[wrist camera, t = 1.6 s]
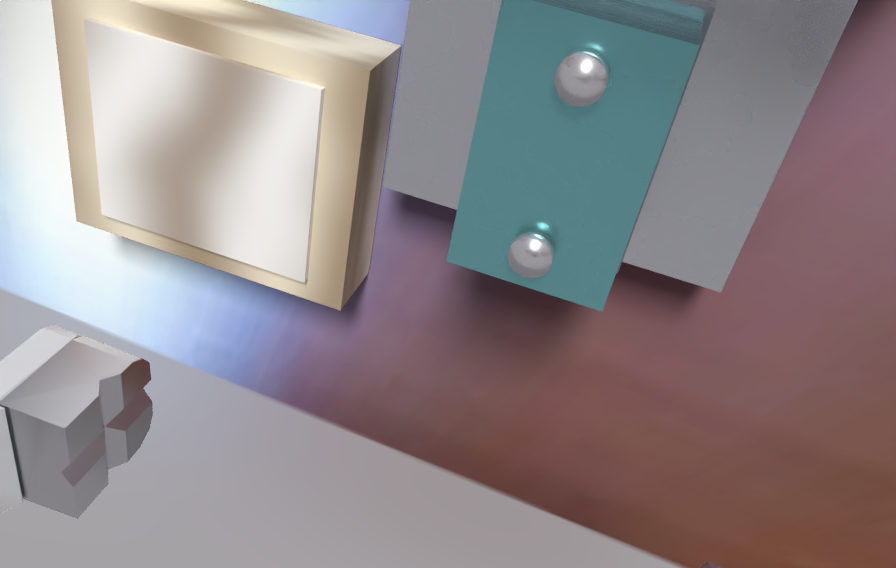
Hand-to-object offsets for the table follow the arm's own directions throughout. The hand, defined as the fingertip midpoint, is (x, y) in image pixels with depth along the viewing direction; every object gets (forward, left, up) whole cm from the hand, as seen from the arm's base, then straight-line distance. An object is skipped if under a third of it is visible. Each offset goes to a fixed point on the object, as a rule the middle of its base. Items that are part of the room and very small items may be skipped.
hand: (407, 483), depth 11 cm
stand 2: (0, 0, -19) cm, 19 cm away
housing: (0, 0, -16) cm, 16 cm away
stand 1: (+13, +6, -19) cm, 24 cm away
